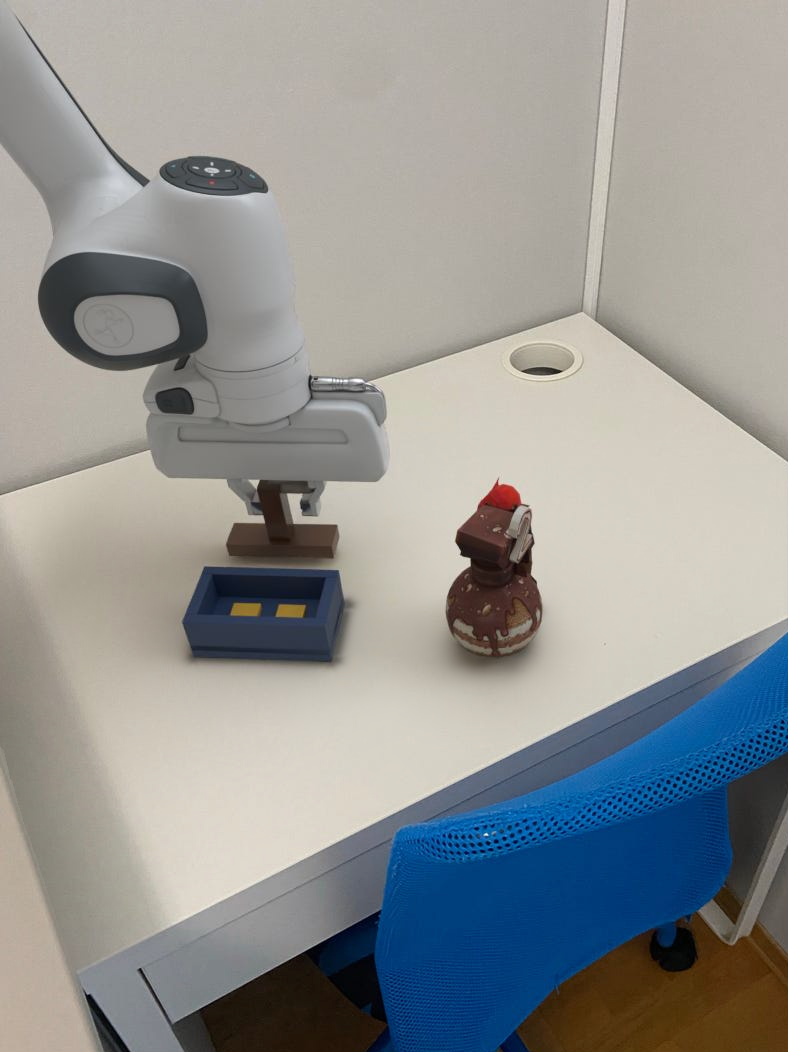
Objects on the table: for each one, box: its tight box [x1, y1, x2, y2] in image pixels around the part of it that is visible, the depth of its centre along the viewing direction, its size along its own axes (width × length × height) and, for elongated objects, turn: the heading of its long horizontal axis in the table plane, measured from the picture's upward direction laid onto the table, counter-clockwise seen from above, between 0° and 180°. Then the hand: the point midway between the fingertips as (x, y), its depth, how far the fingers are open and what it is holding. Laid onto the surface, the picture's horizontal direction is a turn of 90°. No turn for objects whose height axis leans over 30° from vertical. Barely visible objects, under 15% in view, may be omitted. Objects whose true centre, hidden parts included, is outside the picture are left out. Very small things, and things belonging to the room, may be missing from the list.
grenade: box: [445, 477, 544, 659], centre depth 76 cm, size 9×8×15 cm
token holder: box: [181, 565, 346, 662], centre depth 81 cm, size 12×7×4 cm, turn 86°
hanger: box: [225, 480, 340, 559], centre depth 86 cm, size 10×3×8 cm, turn 86°
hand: (285, 512), depth 86 cm, fingers closed on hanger, 3 cm apart
